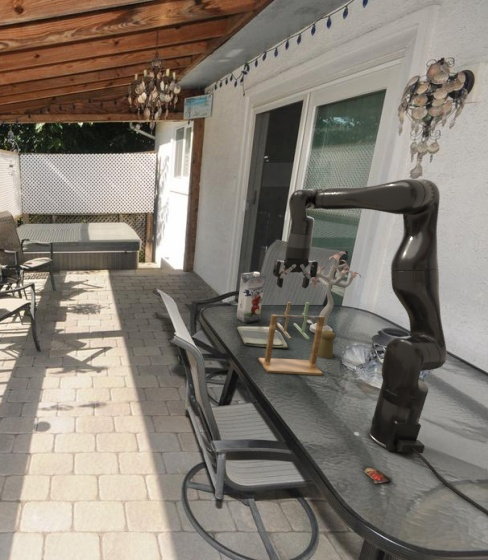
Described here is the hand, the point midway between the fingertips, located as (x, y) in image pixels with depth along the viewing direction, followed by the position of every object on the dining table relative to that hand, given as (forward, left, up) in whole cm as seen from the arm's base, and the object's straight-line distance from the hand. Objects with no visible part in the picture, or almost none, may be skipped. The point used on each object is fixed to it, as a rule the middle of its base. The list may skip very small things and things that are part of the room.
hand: (292, 287), depth 133 cm
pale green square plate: (+25, -2, -34) cm, 42 cm away
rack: (0, -4, -34) cm, 34 cm away
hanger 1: (0, 0, -12) cm, 12 cm away
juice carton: (+48, -3, -34) cm, 59 cm away
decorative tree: (+38, -33, -34) cm, 61 cm away
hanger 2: (0, -6, -12) cm, 13 cm away
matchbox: (-54, -3, -34) cm, 64 cm away
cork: (+12, -23, -34) cm, 43 cm away
